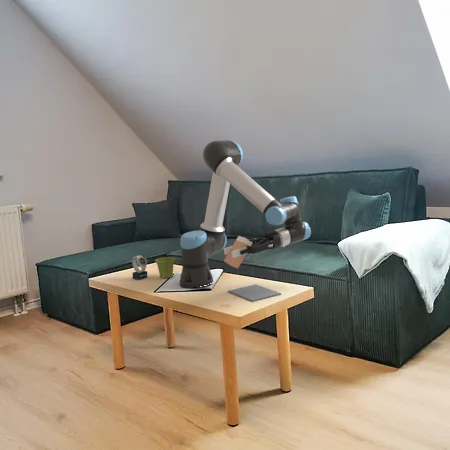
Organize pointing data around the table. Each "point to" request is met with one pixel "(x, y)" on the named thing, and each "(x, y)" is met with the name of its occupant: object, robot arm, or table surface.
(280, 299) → the table surface
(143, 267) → the watch
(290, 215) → the robot arm
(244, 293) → the slate mat
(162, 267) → the plant pot
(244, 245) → the block
